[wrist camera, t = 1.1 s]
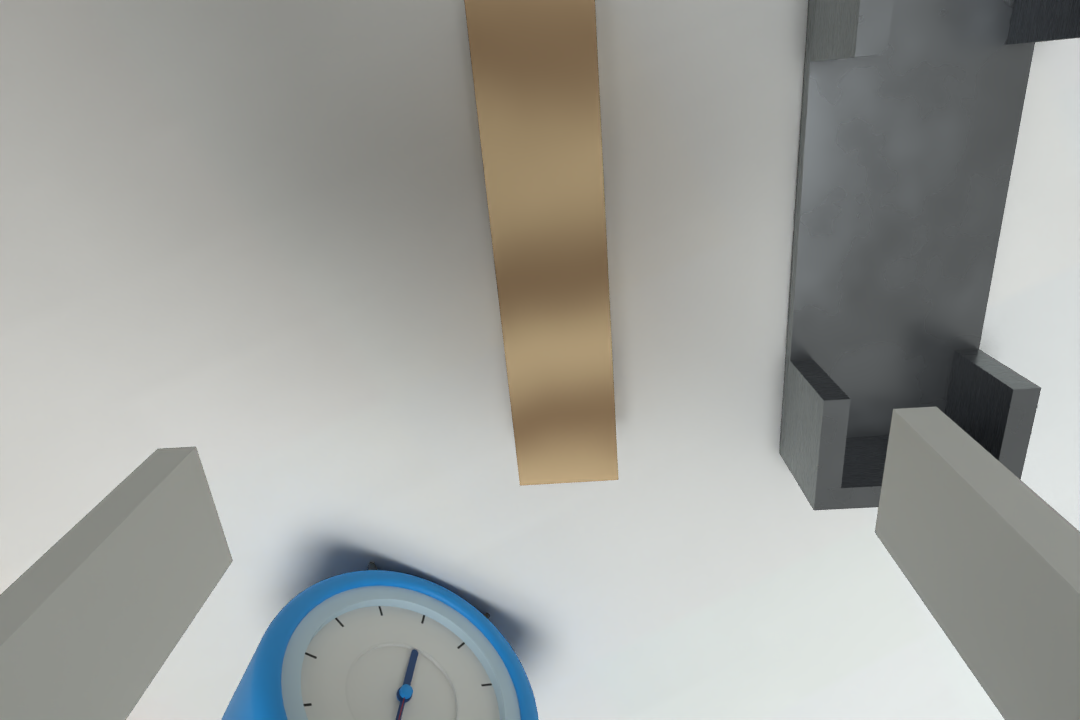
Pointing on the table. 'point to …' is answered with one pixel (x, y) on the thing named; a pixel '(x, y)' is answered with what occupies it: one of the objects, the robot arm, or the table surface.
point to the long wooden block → (548, 230)
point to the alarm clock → (382, 657)
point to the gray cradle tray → (903, 230)
